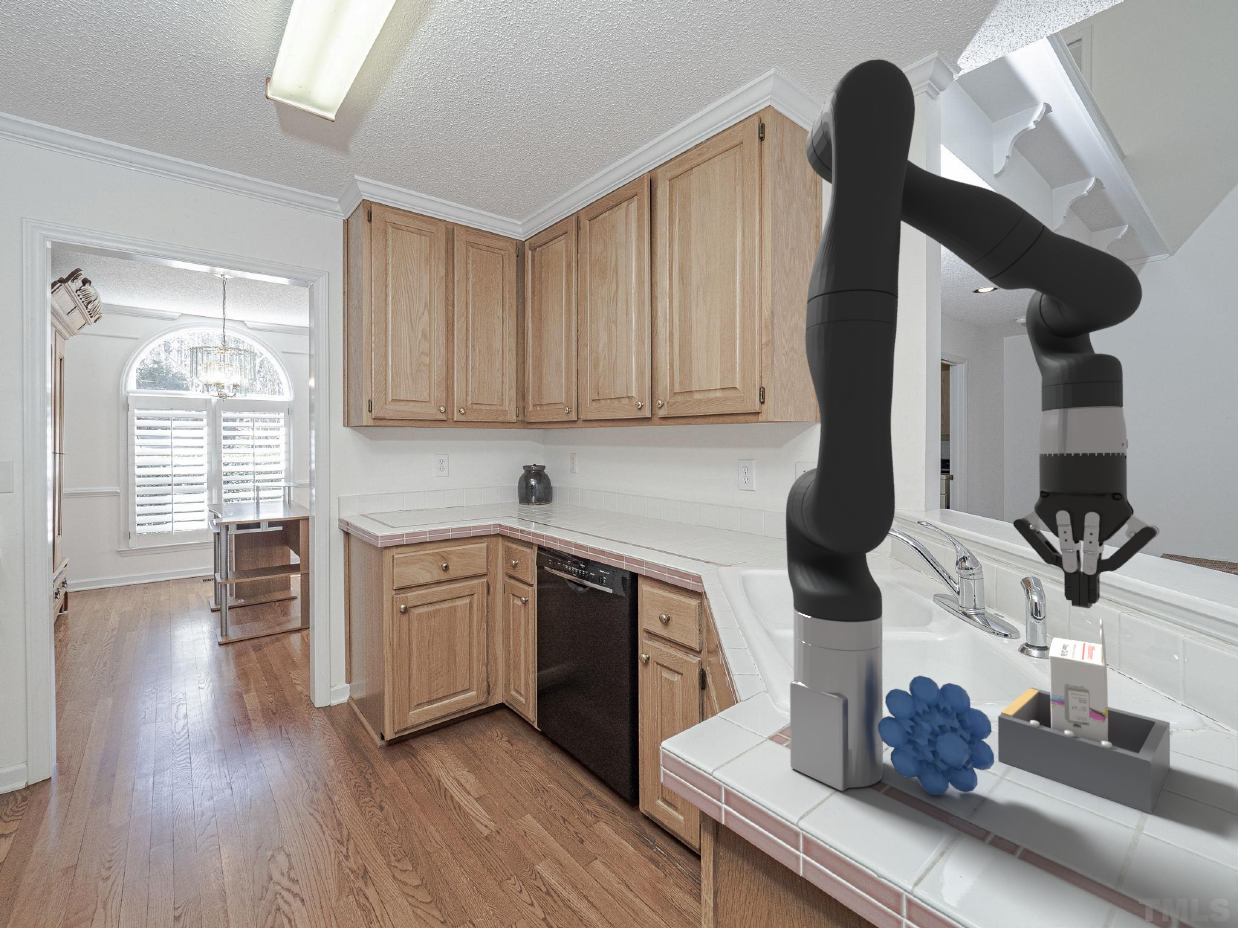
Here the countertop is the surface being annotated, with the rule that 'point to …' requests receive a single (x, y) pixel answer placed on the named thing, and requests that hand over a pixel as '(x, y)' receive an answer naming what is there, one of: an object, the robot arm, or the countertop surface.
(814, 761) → the robot arm
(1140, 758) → the cartridge dock
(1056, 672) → the ink cartridge box
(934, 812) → the countertop surface
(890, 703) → the blue flower
